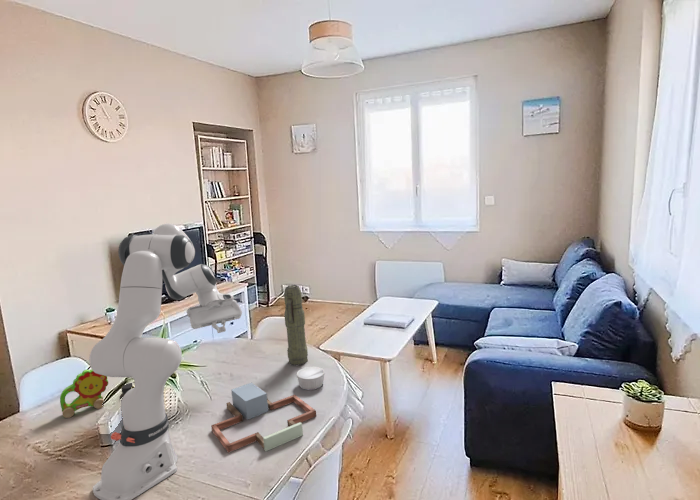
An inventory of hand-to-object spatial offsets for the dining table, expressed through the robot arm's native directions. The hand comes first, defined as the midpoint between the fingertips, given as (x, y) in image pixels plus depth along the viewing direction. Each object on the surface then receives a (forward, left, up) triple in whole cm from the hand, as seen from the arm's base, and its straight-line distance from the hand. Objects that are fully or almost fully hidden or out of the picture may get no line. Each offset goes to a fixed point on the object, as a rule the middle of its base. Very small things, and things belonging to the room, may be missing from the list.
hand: (221, 331), depth 171 cm
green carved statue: (+30, -15, -24) cm, 41 cm away
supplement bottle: (-30, +18, -24) cm, 42 cm away
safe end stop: (-25, -43, -23) cm, 55 cm away
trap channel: (-16, -28, -23) cm, 40 cm away
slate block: (-11, -20, -24) cm, 33 cm away
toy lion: (-32, +40, -24) cm, 56 cm away
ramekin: (+12, -32, -24) cm, 41 cm away
